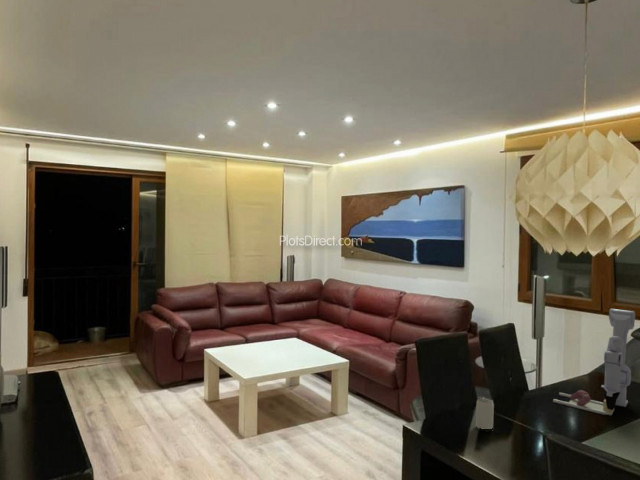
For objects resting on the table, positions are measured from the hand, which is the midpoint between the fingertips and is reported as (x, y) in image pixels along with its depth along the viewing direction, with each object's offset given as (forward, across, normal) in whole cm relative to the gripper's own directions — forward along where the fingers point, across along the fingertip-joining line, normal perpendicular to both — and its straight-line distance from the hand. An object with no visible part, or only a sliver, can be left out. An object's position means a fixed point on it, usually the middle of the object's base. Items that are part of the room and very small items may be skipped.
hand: (610, 408), depth 196 cm
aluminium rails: (+2, 0, -12) cm, 12 cm away
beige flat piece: (+2, 0, -8) cm, 8 cm away
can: (+2, +59, -35) cm, 69 cm away
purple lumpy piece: (+1, 0, -12) cm, 12 cm away
